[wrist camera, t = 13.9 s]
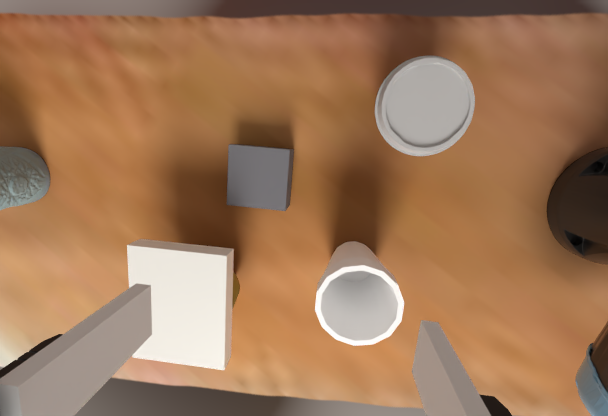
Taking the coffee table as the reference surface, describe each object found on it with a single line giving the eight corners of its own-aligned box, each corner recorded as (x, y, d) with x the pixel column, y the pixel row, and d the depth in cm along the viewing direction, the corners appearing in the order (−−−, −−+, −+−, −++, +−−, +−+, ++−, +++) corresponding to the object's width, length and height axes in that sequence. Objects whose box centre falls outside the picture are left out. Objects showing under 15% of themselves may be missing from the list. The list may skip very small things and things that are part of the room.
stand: (293, 149, 44) (289, 149, 40) (289, 205, 45) (285, 211, 41) (238, 144, 44) (228, 144, 40) (236, 199, 46) (226, 204, 42)
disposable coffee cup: (452, 95, 40) (499, 75, 29) (418, 163, 42) (449, 171, 31) (384, 66, 40) (403, 35, 29) (353, 136, 43) (360, 134, 31)
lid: (233, 248, 38) (226, 255, 36) (230, 356, 41) (224, 370, 39) (140, 238, 39) (127, 245, 37) (144, 345, 42) (132, 357, 40)
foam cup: (324, 227, 46) (319, 260, 33) (388, 233, 45) (409, 269, 32) (318, 287, 48) (312, 340, 35) (380, 294, 47) (396, 351, 34)
